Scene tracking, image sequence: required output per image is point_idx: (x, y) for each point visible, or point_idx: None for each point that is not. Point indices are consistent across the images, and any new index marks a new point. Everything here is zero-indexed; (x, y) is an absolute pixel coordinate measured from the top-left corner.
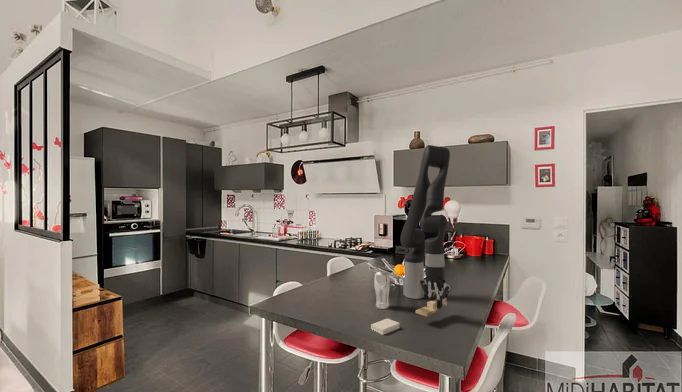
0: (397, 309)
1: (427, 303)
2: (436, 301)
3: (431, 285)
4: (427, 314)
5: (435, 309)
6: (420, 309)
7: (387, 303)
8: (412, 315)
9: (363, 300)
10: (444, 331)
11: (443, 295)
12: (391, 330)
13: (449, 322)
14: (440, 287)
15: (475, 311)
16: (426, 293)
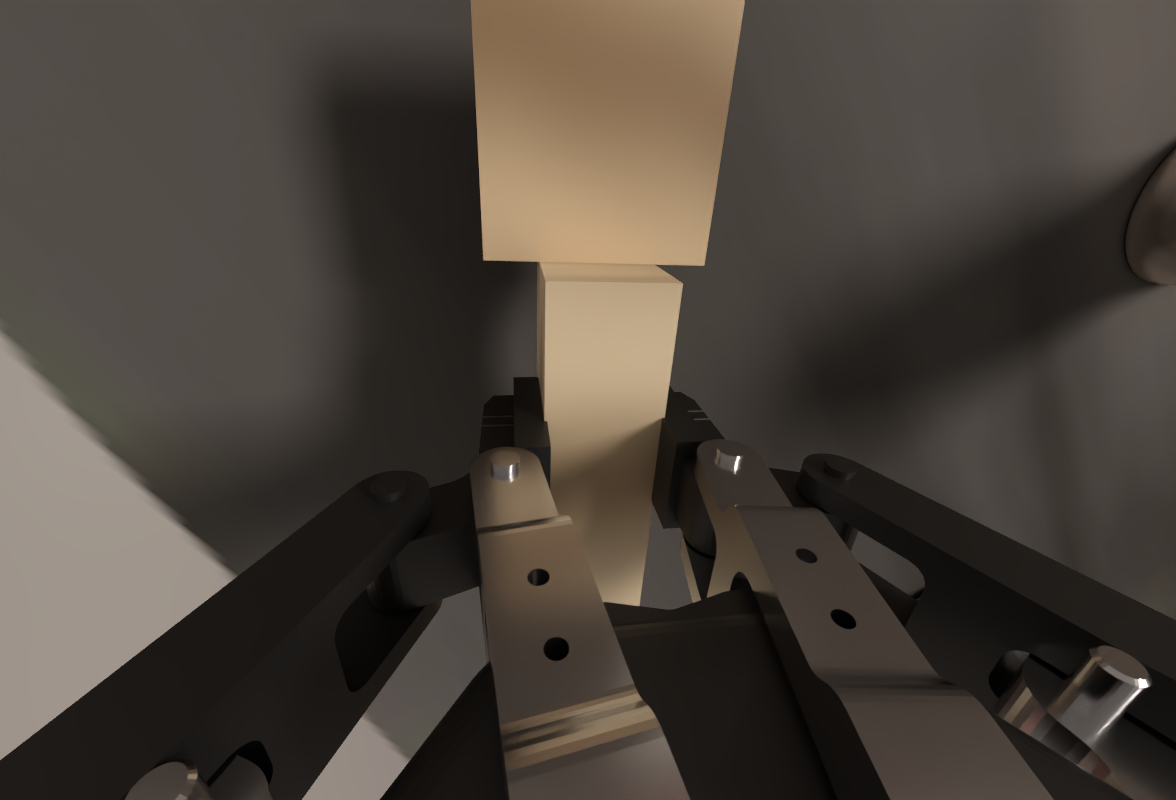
0: (1020, 261)
1: (668, 280)
2: (571, 445)
3: (813, 710)
4: None
5: (538, 330)
6: (697, 59)
7: None
8: (813, 226)
9: None
10: (212, 22)
11: (328, 540)
12: None
13: (396, 356)
14: (404, 778)
15: (424, 700)
16: (822, 477)
